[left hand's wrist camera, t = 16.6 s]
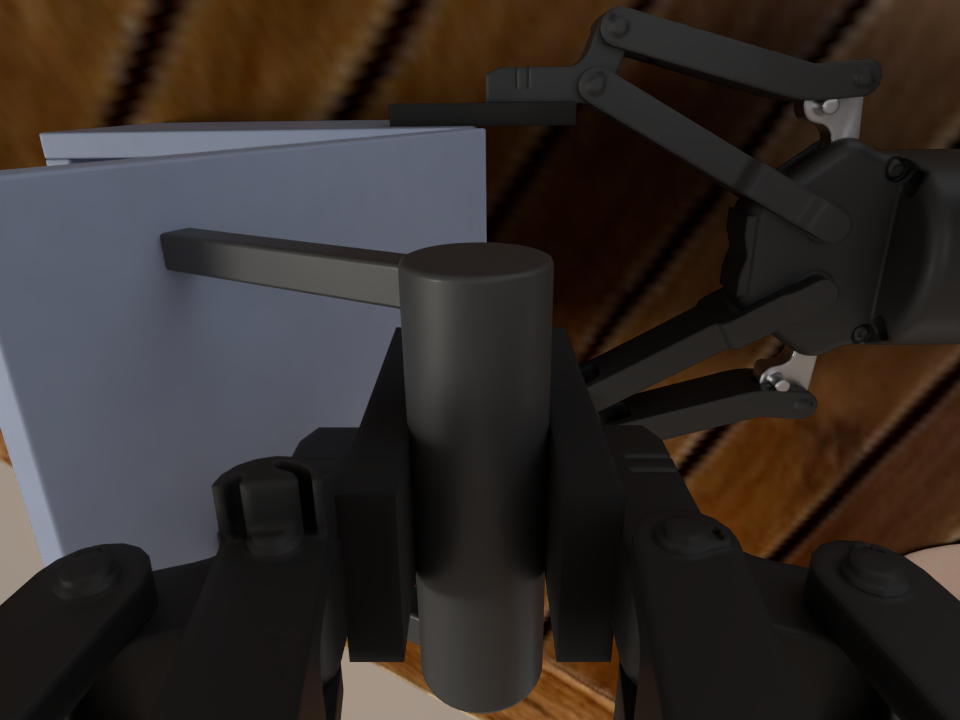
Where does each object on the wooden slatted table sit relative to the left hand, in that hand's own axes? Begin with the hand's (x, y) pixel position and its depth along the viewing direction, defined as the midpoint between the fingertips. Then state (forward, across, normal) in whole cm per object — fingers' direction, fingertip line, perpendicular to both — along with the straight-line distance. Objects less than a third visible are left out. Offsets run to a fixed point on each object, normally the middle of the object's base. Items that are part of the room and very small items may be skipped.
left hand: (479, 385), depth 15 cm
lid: (+3, -4, 0) cm, 5 cm away
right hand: (+12, -3, 0) cm, 13 cm away
